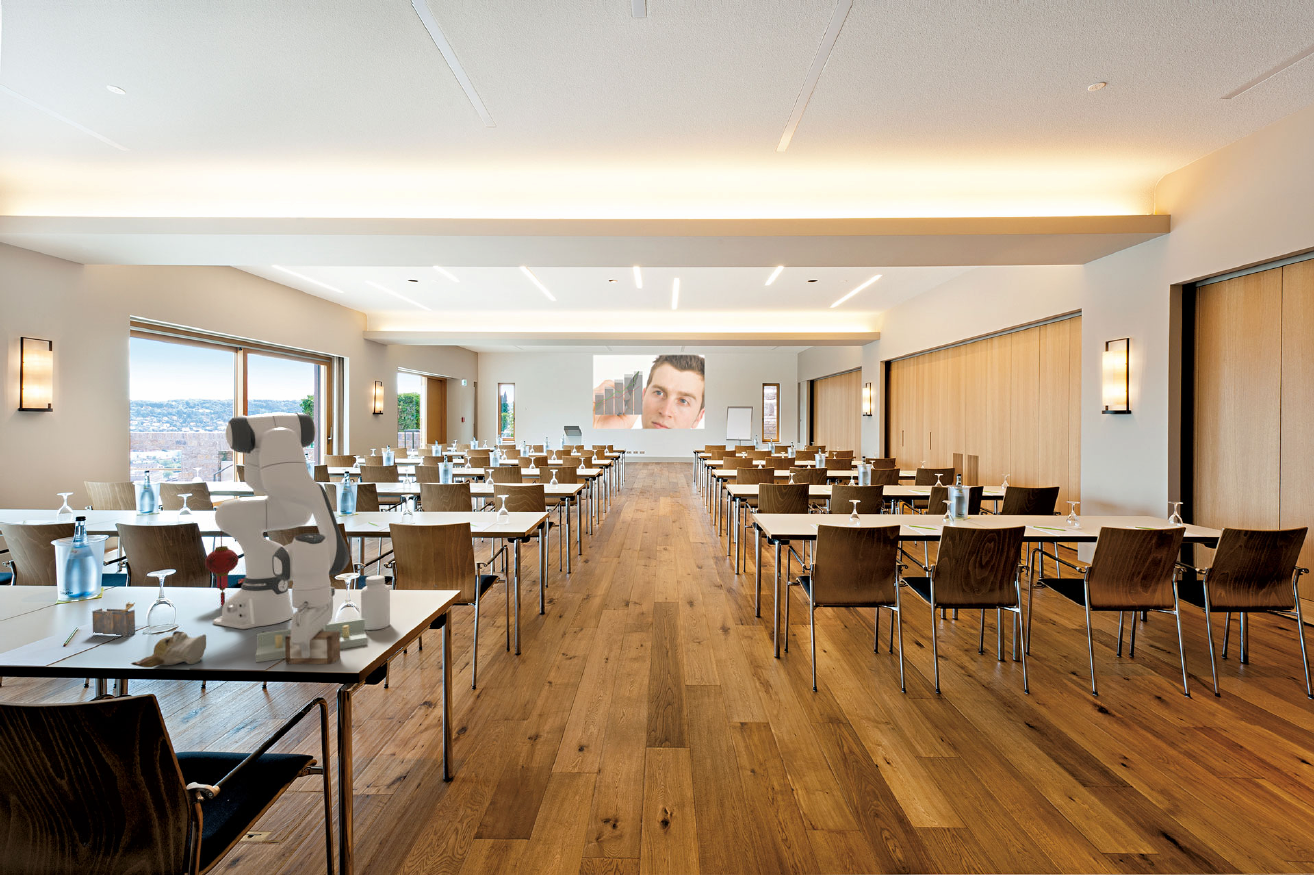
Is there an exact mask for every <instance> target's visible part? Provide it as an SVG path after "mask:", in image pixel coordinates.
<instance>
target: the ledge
mask: <svg viewBox="0 0 1314 875" xmlns="http://www.w3.org/2000/svg"><path fill="white" fill-rule="evenodd" d="M325 631H340V650H343V649H349V648H355V647H361V646H367V643H368V641H367V638H368V637H367V634H366V631H365V619H361V618H357V619H352V620H350V619H349V620H345V621H343V620H342V621H337V622H331V623H330V622H329V623H328V624H327V625H326V626H325ZM289 634H291V628H288V629H281V630H280V629H279V630H275V631H274V630H273V631H267V632H266V631H265V632H260V633H259V632H258V633H257V648H256V653H255V663H263V662H268V661H274V660H282V659H286V653H285V636H287V635H289Z"/></svg>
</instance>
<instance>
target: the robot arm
mask: <svg viewBox="0 0 1314 875" xmlns="http://www.w3.org/2000/svg"><path fill="white" fill-rule="evenodd" d="M316 433H317V430H316V424H315V423H314V419H313V418H312V417H311V416H310V415H309V414H307V413H304V412H303V413H302V412H295V413H291V412H290V413H289V412H270V413H261V414H252V415H245V414H243V415H239V416H234V417H232V418H231V419H230V420H229V421H228V423H227V426H226V428H225V439H226V442H227V443H228V445H229V447H230V449H231V450H233V451H234V452H236V453H242V454H243V455H244V456H243V463H244V465H243V470H244V471H243V479H244V481H245V484H246V485H247V486H248V487H249V488H251V489H252V490H254V491H257V492H259V493H262V494H264V495H261V496H260V495H259V496H246V497H245V496H243V497H235V498H231V499H228V500H224V501H222V502H221V503H220V504H219V506H218V507H217V509H216V510H215V512H214V513H215V514H214V521H215V524H216V526H217V527H218V529H219V530H220V531H221V530H222V533H223V532H224V534H227V535H228V536H231V537H232V538H233V539H234V540H235V541H236V542H237V543H238V545H239V546H240V548H241V550H242V552H243V557H244V564H245V576H244V578H240V579H238V580H237V581H238V584H241V586H240V589H239V590H238V591H236V593H234V594H233V595H231V596H230V597H229V598H228V599H227V600H225V603H224V605H223V606H222V608H221V609H222V610H221V615H220V616H218V617H216V618H215V619H213V620H212V624H213V625H217V626H218V625H219V626H225V627H229V628H235V629H240V630H241V629H242V630H246V629H252V628H257V627H263V626H270V625H275V624H280V623H282V622H286V621H288V620H290V619H291V622H290V629H291V643H292V645H299V647H300V650H301V654H302V658H308V657H309V656H310V655H311V649H310V646H309V644H310V640H311V639H312V638H313V637H314V636H315V635H316V634H317V633H318V632H319V631H325V626H326V625H327V624H329V623H330V622H331V621H332V618H333V612H334V611H333V609H334V596H335V594H336V588H335V587H334V586H332V585H331V584H332V583H331V579H330V576H337V575H339V574H341V572H343V571H344V569H345V568H346V567H347V566H348V564H349V562H350V559H351V557H350V555H351V554H350V550H349V548H348V545H347V543H346V541H345V540H344V538H343V537H344V536H342V535H343V534H342V533H341V530H340V527H339V525H338V522H337V520H336V516H335V513H334V511H333V508H332V505H331V502H330V500H329V497H328V494H327V492H326V490H325V487H324V486H323V485H322V484H321V483H319V482H317V481H316V480H314V478H313V477H312V475H311V474H310V472H309V470H308V465H307V460H306V456H305V452H304V448H308V447H309V446H311V445H312V444H313V443H314V441H315V438H316ZM312 516H313V517H314V521H315V523H316V526H317V529H318V532H317V533H315V532H307V533H301V534H298V535H296V536H294V538H293V540H292V542H291V543H288V544H285V545H282V544H281V543H279V542H276V541H275V540H274V541H273V540H271V539H267V538H266V537H264V532H269V531H280V530H281V531H282V530H289V529H290V530H291V529H294V528H298V527H302V526H305V525H307V523H308V522H309V521H310V519H311V518H312ZM290 582H292V585H291V595H290V591H289V584H290ZM293 608H294V609H296V610H297V611H295V612H294V610H293Z"/></svg>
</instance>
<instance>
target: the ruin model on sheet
mask: <svg viewBox="0 0 1314 875" xmlns="http://www.w3.org/2000/svg"><path fill="white" fill-rule="evenodd" d="M135 604H136V602H133V603H130V602H129V601H128V602H127V603H125V608H124V609H123V608H121V609H120V608H107V609H106V610H103V608H98V609H95V610H92V614H91V615H92V634H93V633H94V632H95V633H103V634H116V635H121V636H129V635H132V634H135V635H136V613H135V612H136V611H135V609H132V610H130V609H131V608H133V607H134V606H135ZM132 636H133V635H132ZM129 637H130V636H129Z"/></svg>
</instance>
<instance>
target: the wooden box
mask: <svg viewBox="0 0 1314 875" xmlns="http://www.w3.org/2000/svg"><path fill="white" fill-rule="evenodd" d="M309 646H310V649H311V655H310V656H309V657H308V658H302V654H301V650H300V647H299V645H292V643H291V634H289V635H287V636H285V653H286V658H285V665H287V664H289V665H292V664H293V665H294V664H295V665H301V664H302V665H305V664H306V665H307V664H308V665H309V664H311V665H312V664H314V665H316V664H317V665H319V664H320V665H323V664H325V665H327V664H330V665H331V664H334V663H335V662H336V661H338V660H339V659H341V649H340V631H319V632H318V633H317V634H316V635H315V636H314V637H313V638H312V639H311V640H310V644H309Z"/></svg>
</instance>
